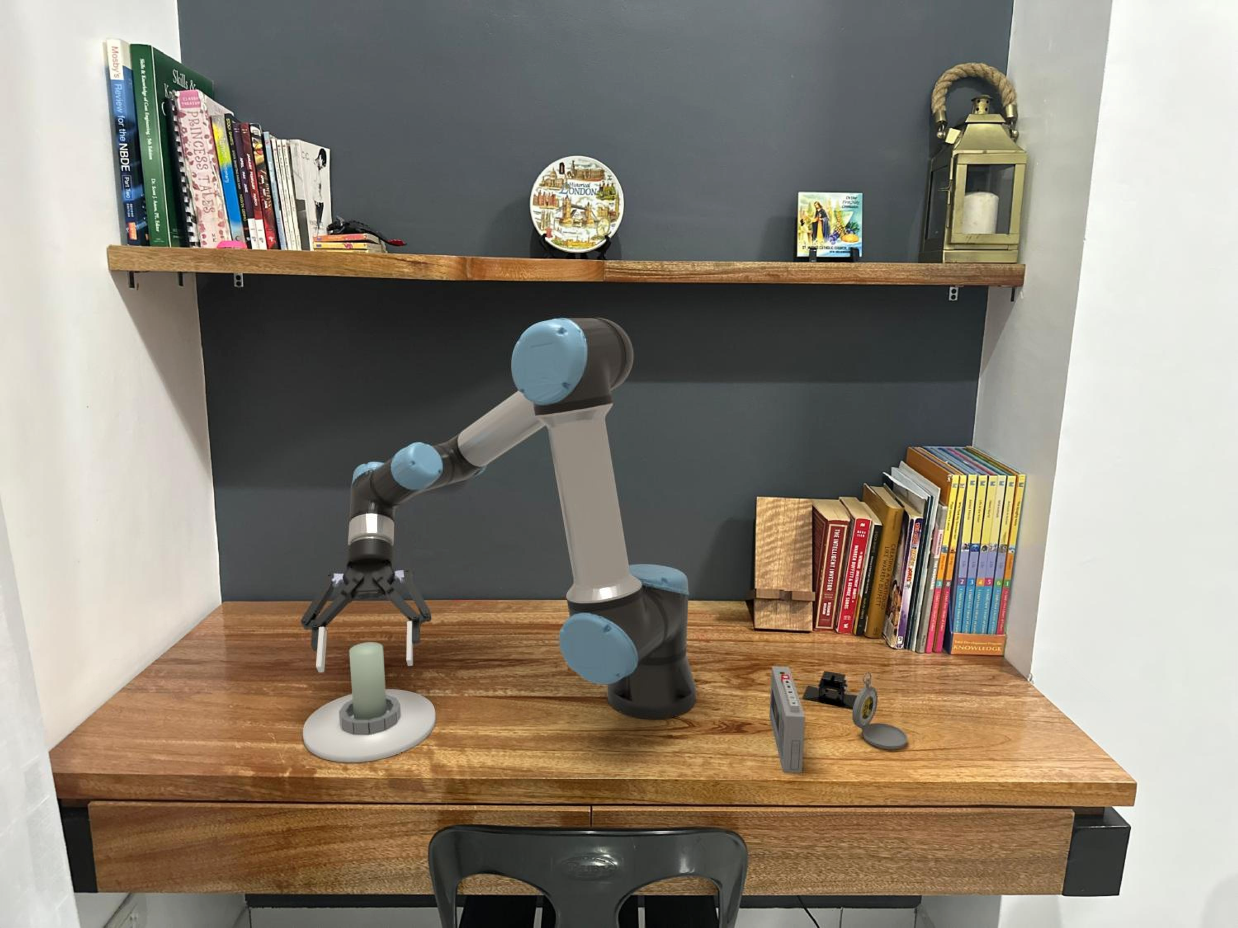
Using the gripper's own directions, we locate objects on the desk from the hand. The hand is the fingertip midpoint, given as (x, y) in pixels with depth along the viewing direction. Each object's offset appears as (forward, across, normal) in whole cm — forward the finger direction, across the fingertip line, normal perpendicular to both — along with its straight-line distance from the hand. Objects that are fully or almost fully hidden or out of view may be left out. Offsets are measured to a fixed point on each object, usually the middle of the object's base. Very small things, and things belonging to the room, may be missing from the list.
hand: (365, 666), depth 126 cm
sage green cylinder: (+7, 0, -5) cm, 9 cm away
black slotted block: (+11, -77, -4) cm, 78 cm away
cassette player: (+19, -64, +5) cm, 67 cm away
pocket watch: (+20, -79, +5) cm, 81 cm away
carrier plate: (+8, 0, -6) cm, 10 cm away
